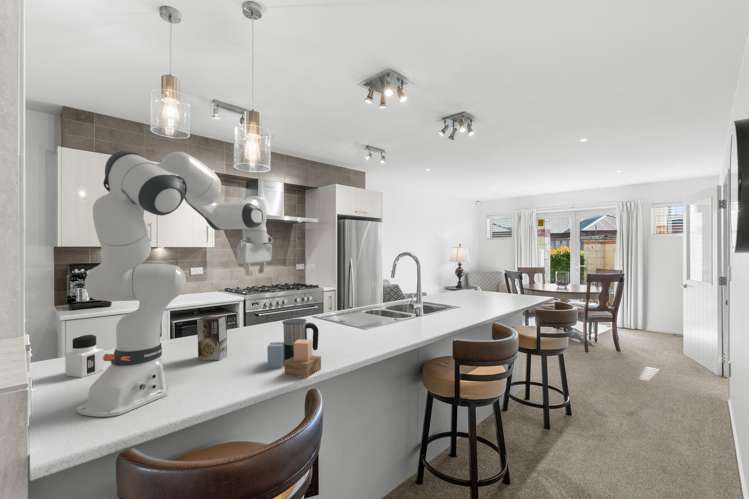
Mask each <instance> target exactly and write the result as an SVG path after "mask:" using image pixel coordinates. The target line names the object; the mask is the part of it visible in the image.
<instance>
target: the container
mask: <svg viewBox="0 0 749 499" xmlns="http://www.w3.org/2000/svg"><path fill="white" fill-rule="evenodd" d="M104 355H105V353H104V349H103V348H97V336H96V335H94V334H82V335H78V336H76V337H74V338H73V339H72V351H69V352H66V353H65V354H64V356H65V357H64V358H65V361H64V363H65V365H64V366H65V370H64V371H65V376H67V377H75V378H85V377H88V376H91V375H93V374H97V373H100V372H103V371H105V368H104V366H105V365H104V364H105V361H104V360H103V358H104V357H103V356H104Z"/></svg>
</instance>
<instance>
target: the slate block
mask: <svg viewBox="0 0 749 499" xmlns="http://www.w3.org/2000/svg"><path fill="white" fill-rule="evenodd" d="M266 347H267V369H283V366H285V360H284V341H282V342H281V341H280V342H270V343H269V344H268V345H267V346H266Z"/></svg>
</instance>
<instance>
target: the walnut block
mask: <svg viewBox="0 0 749 499" xmlns="http://www.w3.org/2000/svg"><path fill="white" fill-rule="evenodd" d="M320 369H321V370H322V356H321V355H320V356H319V355H313V354H312V357H311V358H310V359H309V360H308V361H294V357H292V358H290V359H288V360H284V375H285V376H290V375H293V376H292V377H296V376H301V377H300V378H302V377H306V378H305V379H308V378H310V377H311V375H312V374H313V375H315V374H316V373H318V372H319V370H320ZM321 370H320V371H321ZM317 371H318V372H317ZM315 372H316V373H315ZM314 373H315V374H314ZM313 375H312V376H313ZM309 376H310V377H309Z"/></svg>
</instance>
